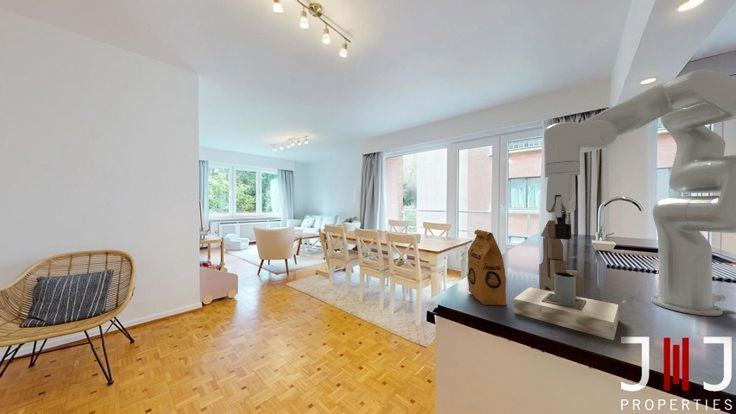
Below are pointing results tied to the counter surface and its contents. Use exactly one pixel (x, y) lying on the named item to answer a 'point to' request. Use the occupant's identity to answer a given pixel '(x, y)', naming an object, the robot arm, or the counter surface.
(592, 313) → the rectangular box
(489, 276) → the coffee package
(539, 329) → the counter surface
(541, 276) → the wooden toy
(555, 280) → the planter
